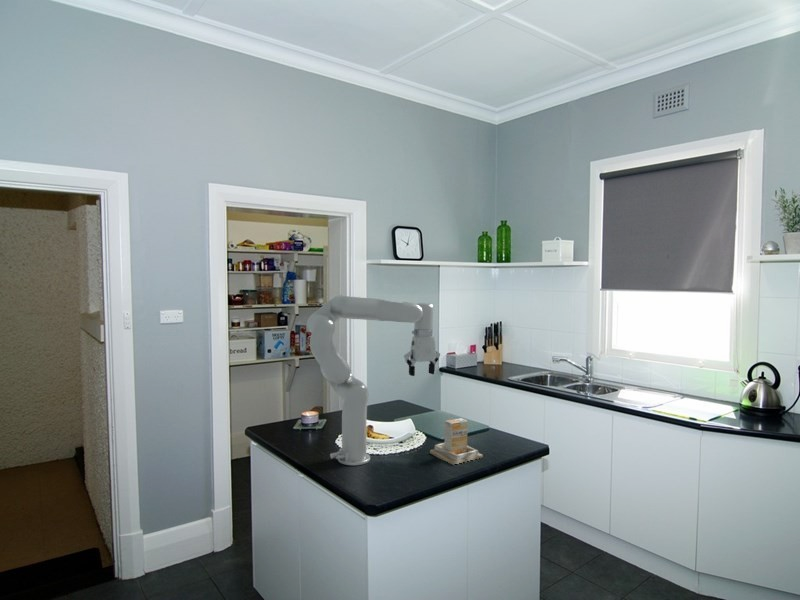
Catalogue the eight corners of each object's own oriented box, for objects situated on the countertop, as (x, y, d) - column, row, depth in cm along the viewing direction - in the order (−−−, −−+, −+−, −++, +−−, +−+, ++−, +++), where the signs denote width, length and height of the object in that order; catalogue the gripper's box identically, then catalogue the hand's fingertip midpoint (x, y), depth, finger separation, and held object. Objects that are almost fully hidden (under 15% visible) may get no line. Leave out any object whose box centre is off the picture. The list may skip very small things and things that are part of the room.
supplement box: (450, 456, 197) (451, 423, 196) (443, 452, 201) (444, 420, 200) (467, 452, 201) (468, 420, 200) (460, 448, 205) (460, 417, 205)
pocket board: (453, 465, 191) (453, 457, 190) (430, 453, 203) (430, 445, 203) (482, 457, 199) (482, 450, 199) (458, 446, 211) (458, 438, 211)
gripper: (410, 335, 197) (408, 377, 198) (445, 333, 206) (444, 374, 207) (400, 332, 203) (399, 374, 204) (435, 331, 212) (433, 371, 213)
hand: (421, 374), depth 206 cm, fingers open, 9 cm apart
